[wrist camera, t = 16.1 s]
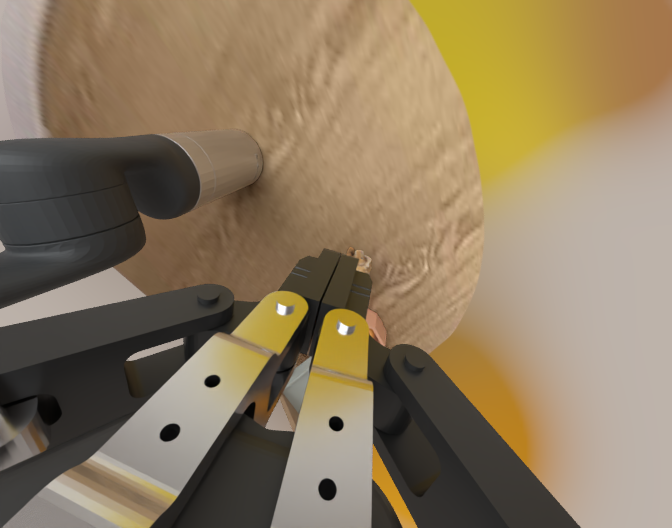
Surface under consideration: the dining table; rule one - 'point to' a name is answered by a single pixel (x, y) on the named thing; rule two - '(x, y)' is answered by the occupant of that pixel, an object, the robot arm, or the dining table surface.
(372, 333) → the ball
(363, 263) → the lion figurine
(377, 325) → the bowl
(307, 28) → the dining table surface
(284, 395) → the tipping tray
